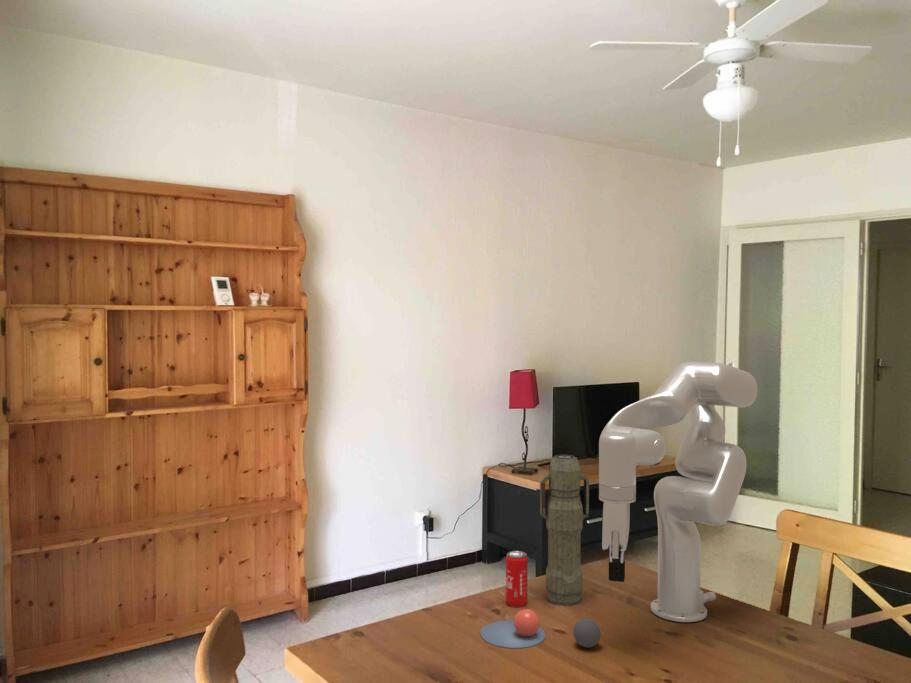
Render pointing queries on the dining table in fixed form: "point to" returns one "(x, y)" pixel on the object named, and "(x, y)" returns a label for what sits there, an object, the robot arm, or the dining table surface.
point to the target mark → (509, 635)
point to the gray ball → (587, 633)
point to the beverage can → (516, 578)
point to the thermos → (564, 529)
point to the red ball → (526, 623)
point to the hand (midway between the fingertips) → (616, 579)
